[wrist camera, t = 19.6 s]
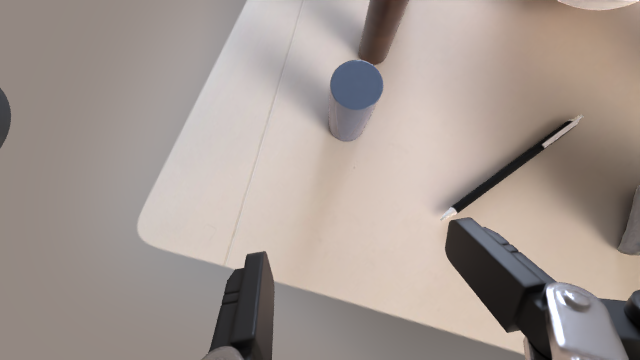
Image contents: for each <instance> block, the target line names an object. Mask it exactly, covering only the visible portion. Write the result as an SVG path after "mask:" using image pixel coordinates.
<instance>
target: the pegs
mask: <svg viewBox="0 0 640 360" xmlns="http://www.w3.org/2000/svg"><path fill="white" fill-rule="evenodd" d="M408 1H409V0H370V2H369V6H368V11H367V16H366V20H365V25H364V29H363V34H362V39H361V43H360V48H359V55H360V57H361V59H362V60H363V61H366V62H368V63H370V64H372V65H376V64H379V63H381V62H382V61H383V60H384V59H385V58H386V56H387V53H388V51H389V48H390V46H391V43H392V41H393V38H394V36H395V33H396V31H397V29H398V26H399V24H400V21H401V19H402V16H403V14H404V11H405V9H406V6H407V4H408Z"/></svg>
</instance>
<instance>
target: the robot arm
mask: <svg viewBox="0 0 640 360" xmlns="http://www.w3.org/2000/svg"><path fill="white" fill-rule="evenodd" d="M445 251H446V255H447V258H448V259H449V261H450V262H451V264H452V265H453V266H454V267H455V269H456V270H457V271H458V272H459V274H460V275H461V276H462V277H463V279H464V280H465V281H466V282H467V284H468V285H469V286H470V287H471V289H472V290H473V291H474V292H475V293H476V295H477V296H478V297H479V298H480V300H481V301H482V302H483V303H484V305H485V306H486V307H487V308H488V310H489V311H490V312H491V313H492V315H493V316H494V317H495V318H496V320H497V321H498V322H499V323H500V325H501V326H502V327H503V328H504V329H505V331H506V332H507V333H509V332H514V331H519V330H521V332H522V333H523V334H524V335H525V337H524V351H525V359H526V360H640V290H637V291H635V292H633V294H632V295H631V296H630V298H629V299H628V301H620V300H610V299H600V298H597V297H596V296H594V295H593V294H591V293H590V292H588V291H586V290H585V289H582V288H580V287H578V286H575V285H572V284H568V283H562V282H556V281H555V280H554V279H552V278H551V277H550V276H549V275H548V274H546V273H545V272H544V271H543V270H542V269H540V268H539V267H538V266H537V265H536V264H534V263H533V262H532V261H531V260H529V259H528V258H527V257H526V256H525V255H523V254H522V253H521V252H518V250H517V249H516V248H515V247H514V246H513V245H510V244H509V242H508V241H507V240H505V239H504V238H503V237H502V236H501V235H499V234H498V233H496V232H494V231H492V230H490V229H488V228H486V227H481V226H480V225H479V224H478V223H477V222H476V221H474V220H473V219H472V218H469V217H467V218H461V219H456V220H451V221H450V222H449V226H448V232H447V239H446V245H445ZM273 316H274V280H273V275H272V272H271V268H270V264H269V260H268V257H267V253H266V252H265V251H263V252H258V253H252V254H247V256H246V260H245V266H244V268H241V269H235V270H234V272H233V273H232V275H231V276H230V278H229V279H228V280H227V284H226V288H225V292H224V296H223V300H222V306H221V308H220V312H219V316H218V319H217V324H216V327H215V332H214V335H213V339H212V343H211V347H210V350H209V352H208V354H207V355H206V356H205V357H204V358H203V359H202V360H272V340H273Z"/></svg>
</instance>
